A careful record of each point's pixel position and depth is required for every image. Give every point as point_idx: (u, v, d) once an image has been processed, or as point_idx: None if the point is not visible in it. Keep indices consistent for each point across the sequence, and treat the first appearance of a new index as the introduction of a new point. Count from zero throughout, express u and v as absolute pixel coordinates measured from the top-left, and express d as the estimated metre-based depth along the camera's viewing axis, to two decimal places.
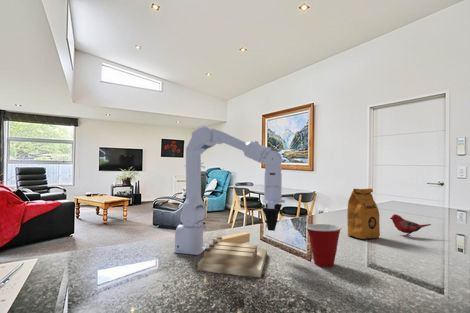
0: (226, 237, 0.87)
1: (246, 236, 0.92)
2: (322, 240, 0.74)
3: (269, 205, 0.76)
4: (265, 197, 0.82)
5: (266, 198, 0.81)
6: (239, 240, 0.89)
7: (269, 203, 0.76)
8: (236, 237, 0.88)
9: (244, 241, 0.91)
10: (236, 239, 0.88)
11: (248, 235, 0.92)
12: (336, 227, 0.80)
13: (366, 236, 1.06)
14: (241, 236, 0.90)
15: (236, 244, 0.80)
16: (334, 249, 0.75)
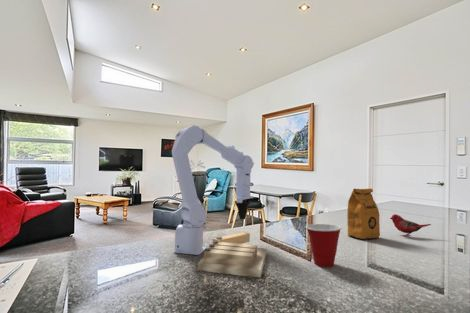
0: (226, 237, 0.87)
1: (246, 236, 0.92)
2: (322, 240, 0.74)
3: (238, 200, 0.93)
4: (236, 193, 0.99)
5: (237, 194, 0.99)
6: (239, 240, 0.89)
7: (238, 198, 0.93)
8: (236, 237, 0.88)
9: (244, 241, 0.91)
10: (236, 239, 0.88)
11: (248, 235, 0.92)
12: (336, 227, 0.80)
13: (366, 236, 1.06)
14: (241, 236, 0.90)
15: (236, 244, 0.80)
16: (334, 249, 0.75)
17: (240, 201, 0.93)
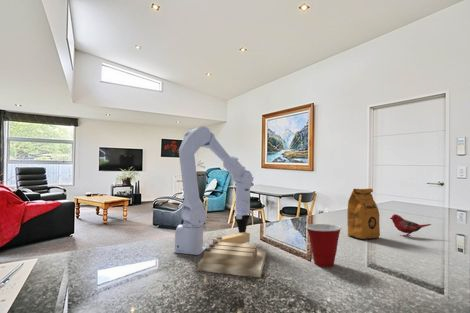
0: (226, 237, 0.87)
1: (246, 236, 0.92)
2: (322, 240, 0.74)
3: (237, 216, 0.93)
4: (236, 209, 0.99)
5: (237, 210, 0.98)
6: (239, 240, 0.89)
7: (237, 214, 0.93)
8: (236, 237, 0.88)
9: (244, 241, 0.91)
10: (236, 239, 0.88)
11: (248, 235, 0.92)
12: (336, 227, 0.80)
13: (366, 236, 1.06)
14: (241, 236, 0.90)
15: (236, 244, 0.80)
16: (334, 249, 0.75)
17: (240, 217, 0.92)
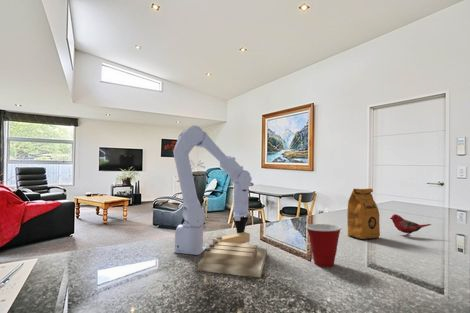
0: (226, 237, 0.87)
1: (246, 236, 0.92)
2: (322, 240, 0.74)
3: (235, 218, 0.89)
4: (234, 210, 0.95)
5: (235, 211, 0.95)
6: (239, 240, 0.89)
7: (235, 216, 0.89)
8: (236, 237, 0.88)
9: (244, 241, 0.91)
10: (236, 239, 0.88)
11: (248, 235, 0.92)
12: (336, 227, 0.80)
13: (366, 236, 1.06)
14: (241, 236, 0.90)
15: (236, 244, 0.80)
16: (334, 249, 0.75)
17: (238, 219, 0.89)
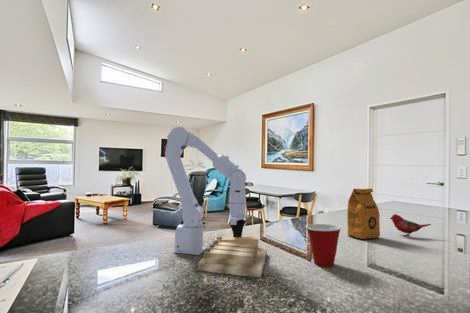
0: (227, 238, 0.85)
1: (254, 241, 0.85)
2: (322, 240, 0.74)
3: (231, 221, 0.82)
4: (230, 213, 0.88)
5: (231, 214, 0.87)
6: None
7: (231, 220, 0.82)
8: (239, 240, 0.84)
9: None
10: (239, 242, 0.84)
11: (256, 241, 0.85)
12: (336, 227, 0.80)
13: (366, 236, 1.06)
14: (246, 240, 0.85)
15: (236, 244, 0.80)
16: (334, 249, 0.75)
17: (234, 223, 0.81)
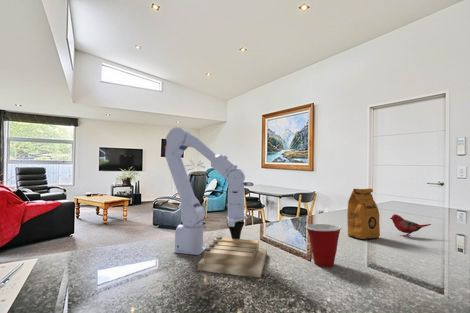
0: (227, 239, 0.84)
1: None
2: (322, 240, 0.74)
3: (229, 223, 0.79)
4: (228, 214, 0.85)
5: (229, 215, 0.85)
6: None
7: (229, 221, 0.79)
8: (237, 242, 0.82)
9: None
10: None
11: None
12: (336, 227, 0.80)
13: (366, 236, 1.06)
14: (244, 243, 0.82)
15: (236, 244, 0.80)
16: (334, 249, 0.75)
17: (232, 224, 0.79)
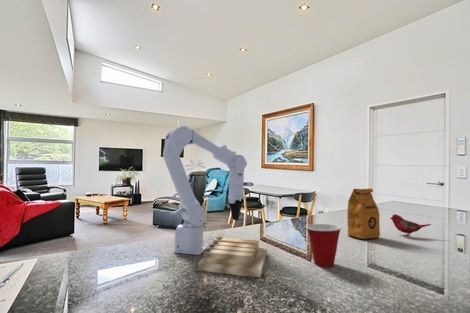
0: (227, 239, 0.84)
1: None
2: (322, 240, 0.74)
3: (230, 200, 0.91)
4: (229, 194, 0.97)
5: (230, 195, 0.96)
6: None
7: (230, 199, 0.91)
8: (237, 242, 0.82)
9: None
10: None
11: None
12: (336, 227, 0.80)
13: (366, 236, 1.06)
14: (244, 243, 0.81)
15: (236, 244, 0.80)
16: (334, 249, 0.75)
17: (232, 202, 0.91)
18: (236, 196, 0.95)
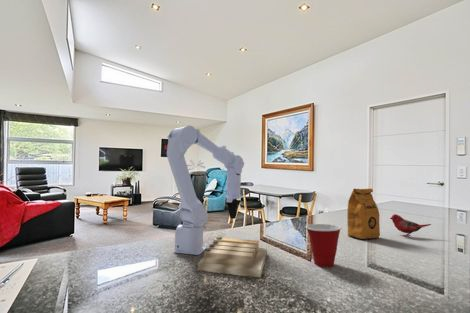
0: (227, 239, 0.84)
1: None
2: (322, 240, 0.74)
3: (227, 199, 0.94)
4: (227, 193, 1.00)
5: (227, 194, 0.99)
6: None
7: (227, 198, 0.94)
8: (237, 242, 0.82)
9: None
10: None
11: None
12: (336, 227, 0.80)
13: (366, 236, 1.06)
14: (244, 243, 0.81)
15: (236, 244, 0.80)
16: (334, 249, 0.75)
17: (230, 200, 0.94)
18: (233, 195, 0.98)
